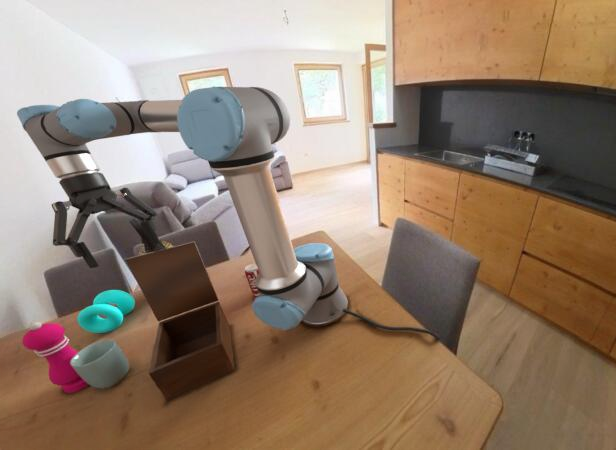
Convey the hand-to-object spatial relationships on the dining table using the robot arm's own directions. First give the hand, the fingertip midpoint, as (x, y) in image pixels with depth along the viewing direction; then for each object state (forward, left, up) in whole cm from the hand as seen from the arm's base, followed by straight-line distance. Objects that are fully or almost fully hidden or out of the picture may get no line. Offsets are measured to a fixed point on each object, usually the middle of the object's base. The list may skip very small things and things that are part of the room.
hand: (128, 254), depth 73 cm
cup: (+1, +16, -27) cm, 32 cm away
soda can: (-20, -17, -27) cm, 38 cm away
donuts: (+21, -2, -27) cm, 35 cm away
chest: (-18, +9, -27) cm, 34 cm away
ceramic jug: (+15, -19, -27) cm, 36 cm away
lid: (-12, +2, -7) cm, 14 cm away
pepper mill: (+9, +17, -27) cm, 34 cm away
